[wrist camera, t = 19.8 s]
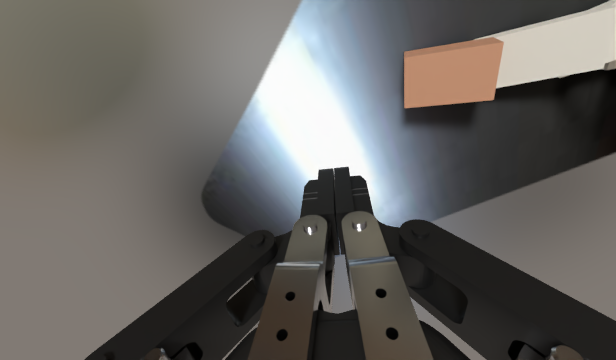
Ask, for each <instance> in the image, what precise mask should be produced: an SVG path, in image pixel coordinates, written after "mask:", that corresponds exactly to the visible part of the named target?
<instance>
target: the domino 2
mask: <svg viewBox="0 0 616 360" xmlns="http://www.w3.org/2000/svg"><path fill="white" fill-rule="evenodd" d="M615 23H616V6H615V5H606V6H602V7H598V8H595V9H591V10H587V11H583V12H579V13H575V14H571V15H567V16H563V17H560V18H556V19H552V20H548V21H544V22H540V23H536V24H532V25H528V26H524V27H521V28H517V29H513V30H509V31H505V32H501V33H497V34H493V35H489V36H485V37H482V38H478V39H484V38H490V37H494V38H496V39H498V40H500V41H503V42H504V45H503V50H502V56H501V62H500V67H499V73H498V79H497V84H496V88H500V87H506V86H511V85H517V84H522V83H528V82H533V81H539V80H544V79H550V78H555V77H560V76H566V75H571V74H577V73H582V72H588V71H593V70H599V69H604V65H605V61H606V58H607V54H608V50H609V46H610V42H611V38H612V35H613V31H614V27H615ZM478 39H474V40H478Z"/></svg>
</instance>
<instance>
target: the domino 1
mask: <svg viewBox="0 0 616 360" xmlns="http://www.w3.org/2000/svg"><path fill="white" fill-rule="evenodd" d="M503 45H504V42H503V41H500V40H498V39H496V38H494V37H490V38H484V39H478V40H472V41H466V42H460V43H454V44H448V45H442V46H436V47H430V48H424V49H418V50H412V51H406V52H404V108H414V107H425V106H436V105H446V104H457V103H468V102H478V101H489V100H494V95H495V90H496V84H497V79H498V73H499V67H500V62H501V56H502V50H503Z"/></svg>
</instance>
